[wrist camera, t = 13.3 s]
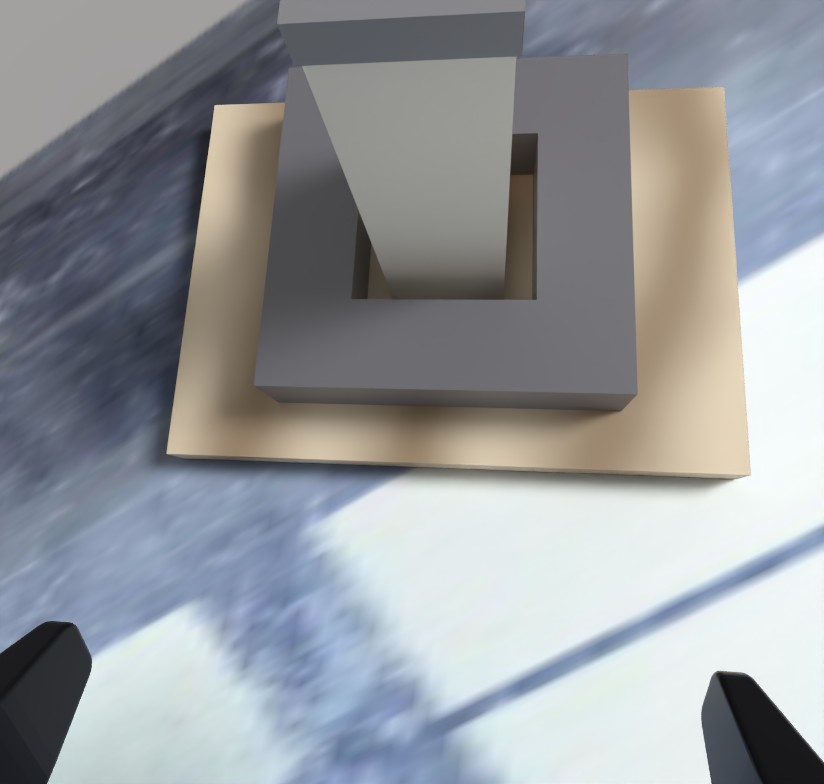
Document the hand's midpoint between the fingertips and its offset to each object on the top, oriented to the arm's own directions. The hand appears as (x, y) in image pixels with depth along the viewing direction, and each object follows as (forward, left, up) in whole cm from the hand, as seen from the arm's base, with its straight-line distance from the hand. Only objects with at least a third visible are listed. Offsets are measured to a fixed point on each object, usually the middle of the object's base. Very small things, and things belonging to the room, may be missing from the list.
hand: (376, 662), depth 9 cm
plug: (+6, +11, -12) cm, 18 cm away
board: (+6, +11, -14) cm, 18 cm away
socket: (+6, +11, -12) cm, 17 cm away
